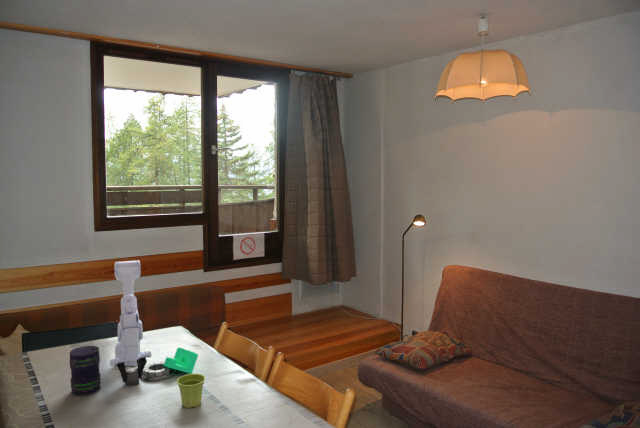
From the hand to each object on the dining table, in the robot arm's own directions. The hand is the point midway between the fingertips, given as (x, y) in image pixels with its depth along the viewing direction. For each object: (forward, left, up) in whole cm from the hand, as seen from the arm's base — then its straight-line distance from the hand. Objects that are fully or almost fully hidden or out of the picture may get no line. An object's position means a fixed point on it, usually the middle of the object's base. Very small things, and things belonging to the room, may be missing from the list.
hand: (132, 379), depth 179 cm
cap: (0, 0, -1) cm, 1 cm away
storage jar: (-14, -7, -2) cm, 16 cm away
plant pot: (+29, -14, -2) cm, 32 cm away
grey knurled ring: (+6, +9, -1) cm, 11 cm away
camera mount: (+16, +16, +2) cm, 22 cm away
